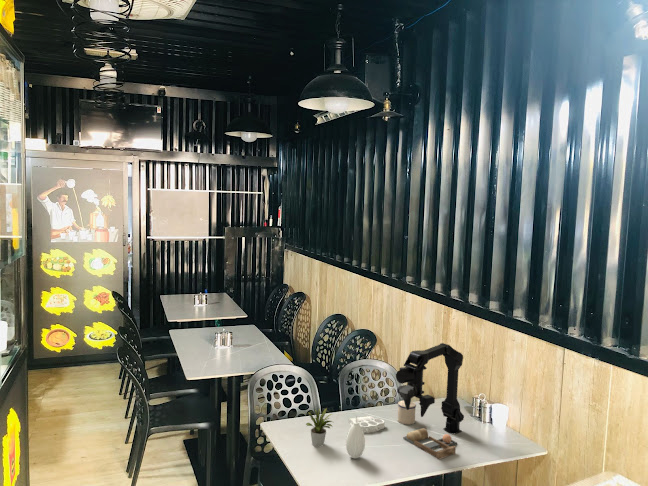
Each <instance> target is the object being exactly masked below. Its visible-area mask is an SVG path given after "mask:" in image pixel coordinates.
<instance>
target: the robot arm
mask: <svg viewBox="0 0 648 486" xmlns="http://www.w3.org/2000/svg"><path fill="white" fill-rule="evenodd" d="M440 356H443V357H444V363H445V365H446V367H447V380H446V381H447V382H446V397H445V398H444V400H442V401H441V408H440V409H441V412H442V414H443V417H446V421H445V427H443V428H442V430H444V431H446V432H448V433H450V434H451V435H455V434H458V433H461V432H463V430H462V429H460V427H461V426H460V423H461V422H462V421H464V418H465V414H463V413H462V411H461V404H460V402H459V400H458V388H459V387H458V383H459V369H460V368H462V366H463V361H464V355H463V353H462V352H460V351H458V350H456V349H455V348H453V347H452V345H450V344H447V343H443V342H442V343H439V344H437V345H434V346H432V347H429V348H427V349H424V350H412V351H410V352H409V354H408V357H407V358H406V360H405V361H404V364H403V367H400V368H399V370H397V372H396V373H395V379H396V381H397V382H398V383H399V384H401V385H399V386H398V387H397V390H396V391H397V394H399V396H400V398H402V399H403V400H404V402H405V406H406V409H407V410H409V407H410V402H411V401H412V399H413V398H414V397H415V398H417V399H419V402H418V405H420V418H423V417H424V416H425V414H426V412H427V410H428V409H429V407H430V406H431V405H433V404H435V402H436V398H435V397H434V396H433V395H430V394H425V391H424V390H423V385H424V386H425V384H426V383H425V382H424V370H427V367H426V365H427V364H428V363H429V361H430V360H432V359H435V358H438V357H440ZM403 384H404V385H403ZM423 394H424V395H423Z"/></svg>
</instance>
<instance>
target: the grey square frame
mask: <svg viewBox="0 0 648 486" xmlns="http://www.w3.org/2000/svg"><path fill="white" fill-rule="evenodd" d="M437 440H438V441H440V442H442V443H444V444H446V445H448V446H450V447H451V446H455V445H458V442H457V441H455V440H453V439H451V442H450V443H445V442H444V441H443V437H441V438H438V439H437Z"/></svg>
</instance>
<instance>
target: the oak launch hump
mask: <svg viewBox="0 0 648 486" xmlns="http://www.w3.org/2000/svg"><path fill="white" fill-rule="evenodd" d="M406 436H407V439H409V440H411V441H413V442H414V441H415V440H416V441H419V440H422V439H426V438H428V437H429V432H428V430H427V429H426V428H424V427H423V428H419V429H416V430H412V431H410V432H409V431H408V432H407V434H406Z"/></svg>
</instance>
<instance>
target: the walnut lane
mask: <svg viewBox="0 0 648 486" xmlns="http://www.w3.org/2000/svg"><path fill="white" fill-rule="evenodd" d="M428 439H430V440H432V441H434V442H436V443H438V444H440V447H439V448H441V449H440V450H437V451H435V450H434V449H430V448H428V447H427V446H425V445H423V444H421V443H419V442H417V441H416V440H415V441H414V446H415V447H417V448H418V449H420V448H419V447H420V446H421V447H422V449H425V450H423V451H424V452H426V453H427V454H430V455H431V456H433V457H434V458H436V459H437V460H440V459H444V458H447V457H449V456H453V455H455V454H456V449H457V448H456V446H455V445H453V446H448V444H447V443H445V442H443V441H441V442H440V441H438V439H436V438H434V437H432V436H431V435H428ZM442 442H443V443H442ZM444 443H445V444H444ZM416 444H417V445H419V447H418V446H416ZM446 444H447V445H446ZM422 449H421V450H422Z"/></svg>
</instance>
